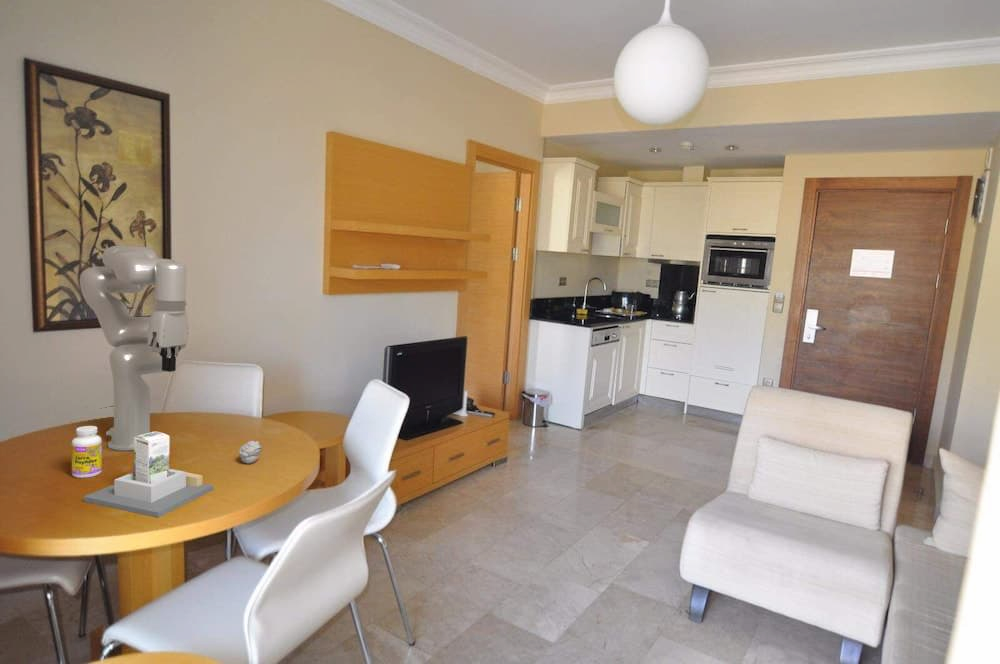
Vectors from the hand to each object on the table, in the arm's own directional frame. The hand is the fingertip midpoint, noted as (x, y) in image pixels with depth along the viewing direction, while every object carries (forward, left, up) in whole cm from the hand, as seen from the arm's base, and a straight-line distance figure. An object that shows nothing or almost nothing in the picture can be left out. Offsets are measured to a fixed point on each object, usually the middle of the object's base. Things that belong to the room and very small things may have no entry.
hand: (168, 370), depth 166 cm
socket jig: (+12, -18, -28) cm, 35 cm away
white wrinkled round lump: (+19, +11, -28) cm, 36 cm away
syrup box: (+12, -18, -27) cm, 34 cm away
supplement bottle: (-13, -14, -28) cm, 34 cm away
